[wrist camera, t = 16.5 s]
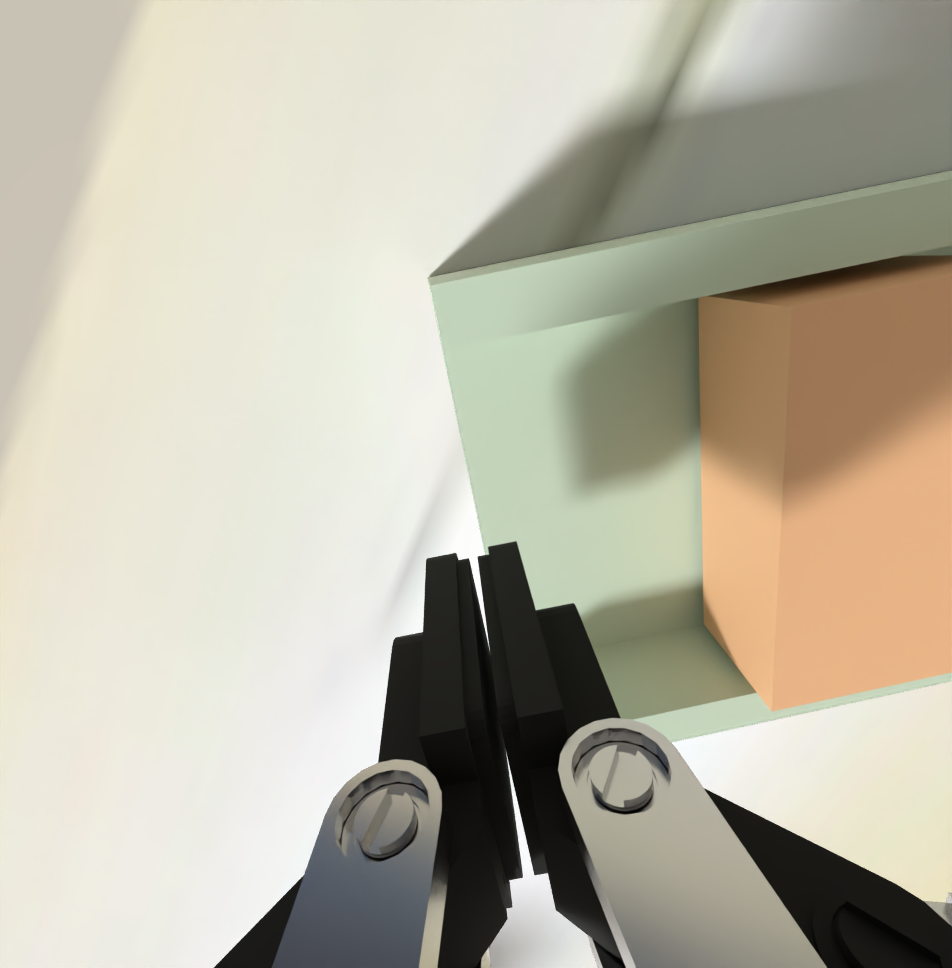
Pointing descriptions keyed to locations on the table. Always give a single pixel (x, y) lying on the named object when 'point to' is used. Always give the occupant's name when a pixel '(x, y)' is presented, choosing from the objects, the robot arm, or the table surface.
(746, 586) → the block
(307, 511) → the table surface
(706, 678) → the pale green shallow box
